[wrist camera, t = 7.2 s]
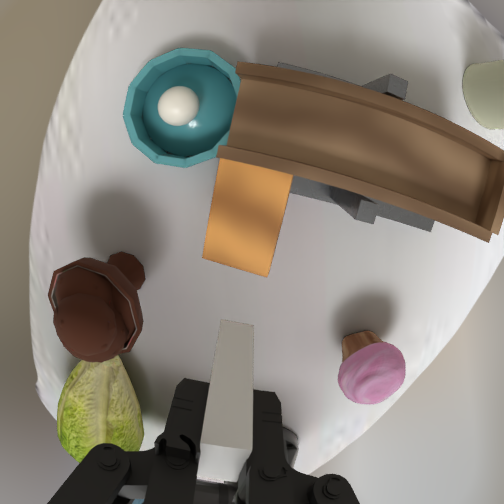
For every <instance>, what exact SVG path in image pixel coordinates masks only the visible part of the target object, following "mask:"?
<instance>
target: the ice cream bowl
mask: <svg viewBox="0 0 504 504" xmlns="http://www.w3.org/2000/svg"><path fill="white" fill-rule="evenodd" d="M144 281H145V274H144V269H143V265H142V264H141V263H140V262H139V261H138V260H137V259H136V258H135V256H134V255H131V254H128V253H124V252H118V253H116V254H114V255H111V256H110V258H109V260H108V263H105V262H102V261H99V260H96V259H93V258H82V259H79V260H77V261H74V262H72V263H70V264H68V265H66V266H64V267H61V268H59V269H57V270H55V271H54V273H53V276H52V280H51V284H50V289H49V293H48V297H49V300H50V303H51V306H52V309H53V311H54V318H53V323H54V325H55V328H56V332H57V335H58V337H59V339H60V341H61V342H62V343H63V346H64V347H65V348H66V349H67V350H68V351H69V352H70V353H71V354H72V355H73V356H75V357H77V358H79V359H82V360H84V361H86V362H92V363H93V362H99V363H102V362H104V361H107V360H110V359H113V358H114V357H115V356H117V355H118V354H121V353H126V352H130V351H131V349H132V347H133V345H134V343H135V342H136V340H137V338H138V336H139V335H140V333H141V331H142V326H143V316H142V311H141V307H140V303H139V298H138V294H137V290H139V289H140V288H141V286H142V284H143V282H144Z"/></svg>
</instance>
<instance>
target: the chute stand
mask: <svg viewBox="0 0 504 504" xmlns="http://www.w3.org/2000/svg"><path fill="white" fill-rule="evenodd" d="M277 67H280V68H286V69H291V70H296V71H301V72H306V73H311V74H315V75H320V76H324V77H328V78H332V79H336V80H340V81H343V82H347V81H344V80H341V79H338V78H335V77H332V76H329V75H325V74H322V73H319V72H315V71H312V70H308V69H304V68H300V67H297V66H292V65H288V64H284V63H280V62H278V66H277ZM347 83H350V82H347ZM350 84H353V83H350ZM407 84H408V81H406V80H403V79H401V78H399V77H397V76H395V75H392V74H389V75H386V76H384V77H381V78H379V79H377V80H375V81H372V82H370V83H368V84H366V85H363V86H361V87H364V88H367V89H370V90H373V91H376V92H379V93H382V94H385V95H388V96H391V97H394V98H396V99H399V100H404V99H405V96H406V90H407ZM354 85H356V84H354ZM357 86H359V85H357ZM289 193H293V194H297V195H302V196H306V197H310V198H314V199H318V200H322V201H326V202H330V203H333V204H337V205H339V206H340V207H342V208H343V209H344V210H345V211H346V212H347V213H349V214H350V215H351V216H352V217H353V218H354V219H356V220H359V221H363V222H367V223H371V224H374V221H375V217H376V215H377V216H380V217H384V218H387V219H391V220H394V221H397V222H401V223H404V224H407V225H410V226H413V227H417V228H420V229H423V230H426V231H429V232H431V230H432V227H433V224H434V221H435V220H433V219H430V218H427V217H425V216H422V215H419V214H417V213H414V212H411V211H408V210H406V209H403V208H400V207H397V206H394V205H391V204H388V203H386V202H383V201H380V200H377V199H373V198H370V197H367V196H364V195H361V194H358V193H355V192H351V191H348V190H345V189H342V188H338V187H335V186H331V185H328V184H324V183H321V182H317V181H314V180H310V179H306V178H303V177H299V176H295V175H294V176H293V180H292V184H291V188H290V192H289Z"/></svg>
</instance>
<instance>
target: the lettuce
mask: <svg viewBox="0 0 504 504" xmlns="http://www.w3.org/2000/svg"><path fill="white" fill-rule="evenodd" d="M57 431H58V437H59V440H60V442H61V444H62V446H63V448H64V449H65V450H66V451H67V452H68V453H69V454H70V455H71V456H72V457H73V458H74V459H75V460H77V461H78V462H79V463H80V462H81V461H82V460H83V459H84V457H85V456H86V455H87V454H88V452H89V451H90V450H91V449H92V448H93V447H95V446H96V445H98V444H102V443H112V444H114V445H117V446H119V447H121V448H122V449H123V450H124V451H139V449H140V447H141V444H142V441H143V437H144V428H143V421H142V415H141V410H140V404H139V402H138V399H137V396H136V394H135V391H134V389H133V386H132V384H131V381H130V379H129V376H128V374H127V372H126V370H125V368H124V366H123V364H122V361H121V359H120V357H119V356H118V355H117V356H115V357H114V358H113V359H110V360H107V361H104V362H102V363H99V362H93V363H92V362H86V361H84V360H81V361H80V362H79V363H78V364H77V366H76V367H75V368H74V369H73V371H72V372H71V374H70V375H69V377H68V379H67V381H66V383H65V385H64V387H63V390H62V393H61V396H60V399H59V402H58V411H57Z"/></svg>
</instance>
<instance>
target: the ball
mask: <svg viewBox="0 0 504 504" xmlns="http://www.w3.org/2000/svg"><path fill="white" fill-rule="evenodd" d="M198 111H199V99H198V96H197V95H196V93H195V92H194V91H193V90H191V89H190V88H187V87H184V86H176V87H172V88H170V89H168V90H167V91H165V92H164V93H163V94H162V96H161V97H160V99H159V102H158V112H159V115H160V117H161V118H162V120H163V121H165V122H166V123H168V124H170V125H173V126H181V125H185V124H187V123H189V122H191V121H192V120H193V119H194V118H195V117H196V115H197V113H198Z"/></svg>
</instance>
